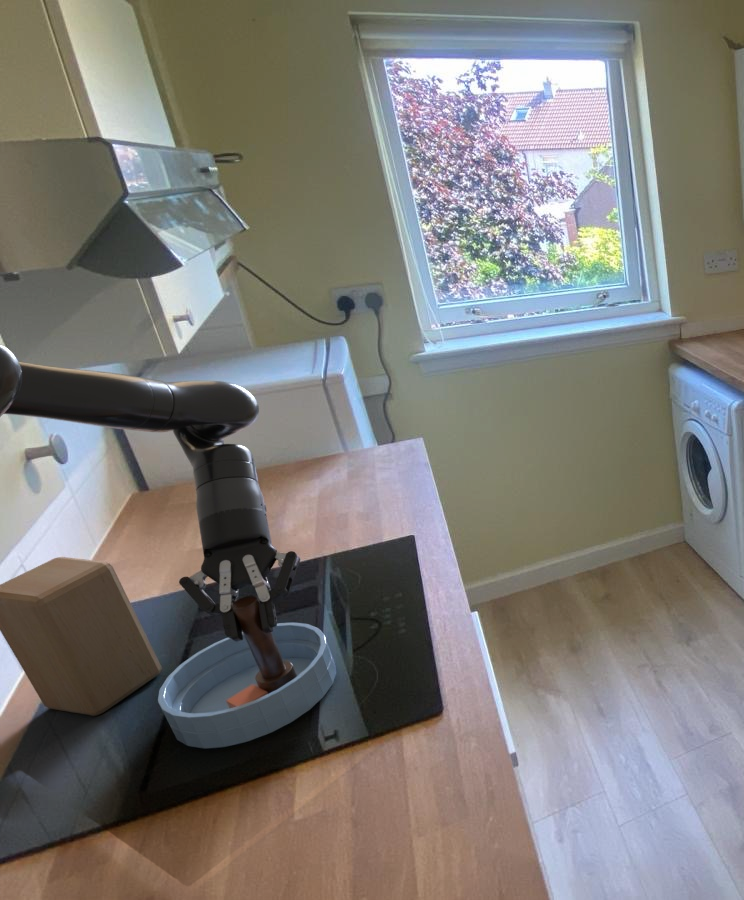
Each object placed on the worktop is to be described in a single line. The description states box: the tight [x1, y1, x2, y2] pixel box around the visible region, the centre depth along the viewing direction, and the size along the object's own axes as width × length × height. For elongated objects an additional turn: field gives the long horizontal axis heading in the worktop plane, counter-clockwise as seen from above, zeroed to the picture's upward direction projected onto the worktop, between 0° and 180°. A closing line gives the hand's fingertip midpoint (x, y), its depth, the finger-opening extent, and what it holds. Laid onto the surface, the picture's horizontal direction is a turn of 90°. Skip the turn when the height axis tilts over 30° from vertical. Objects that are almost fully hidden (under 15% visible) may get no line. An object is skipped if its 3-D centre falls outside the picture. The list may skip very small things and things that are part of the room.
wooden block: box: [0, 556, 163, 717], centre depth 103 cm, size 10×10×20 cm
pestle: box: [232, 595, 297, 694], centre depth 101 cm, size 4×4×16 cm
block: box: [226, 684, 268, 708], centre depth 101 cm, size 4×4×4 cm
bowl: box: [157, 621, 338, 749], centre depth 104 cm, size 19×19×6 cm
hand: (253, 635), depth 97 cm, fingers closed on pestle, 3 cm apart
